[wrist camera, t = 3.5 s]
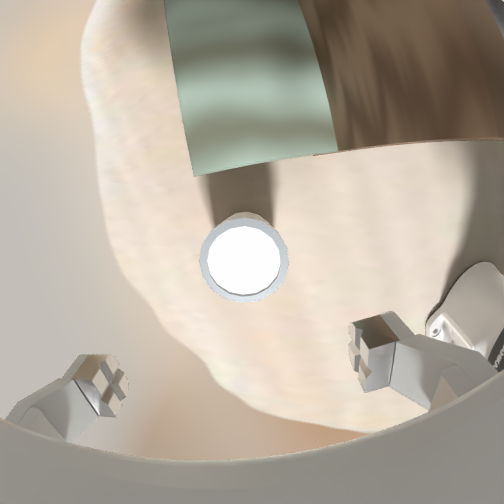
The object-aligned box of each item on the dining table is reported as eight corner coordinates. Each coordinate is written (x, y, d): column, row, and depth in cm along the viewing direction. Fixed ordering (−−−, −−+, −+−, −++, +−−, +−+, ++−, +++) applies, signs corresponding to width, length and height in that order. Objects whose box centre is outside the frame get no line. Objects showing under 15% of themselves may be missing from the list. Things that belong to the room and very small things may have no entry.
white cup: (200, 219, 27) (184, 237, 20) (266, 195, 26) (272, 204, 20) (226, 280, 29) (219, 314, 22) (288, 259, 28) (300, 287, 22)
